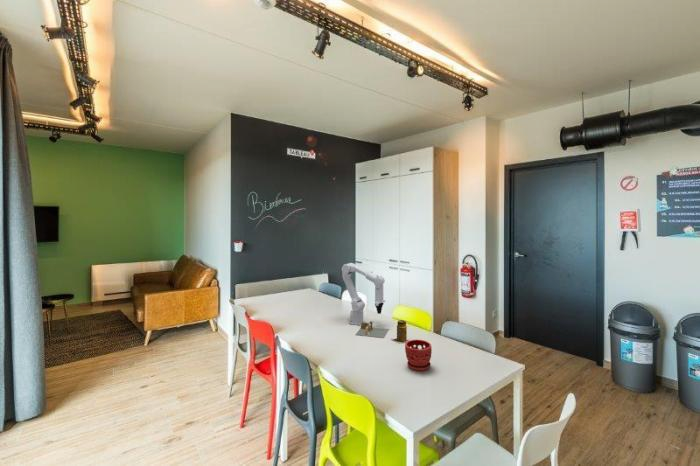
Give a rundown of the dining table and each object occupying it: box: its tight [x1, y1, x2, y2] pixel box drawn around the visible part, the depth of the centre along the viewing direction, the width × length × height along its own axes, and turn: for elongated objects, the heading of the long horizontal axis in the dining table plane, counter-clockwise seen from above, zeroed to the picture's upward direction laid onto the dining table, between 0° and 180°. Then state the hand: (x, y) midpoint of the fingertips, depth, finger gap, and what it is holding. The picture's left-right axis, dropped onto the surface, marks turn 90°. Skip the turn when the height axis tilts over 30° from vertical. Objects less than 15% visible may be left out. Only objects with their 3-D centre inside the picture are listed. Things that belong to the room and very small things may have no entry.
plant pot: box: [404, 339, 433, 372], centre depth 164 cm, size 13×13×12 cm
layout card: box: [355, 326, 389, 339], centre depth 214 cm, size 19×17×1 cm
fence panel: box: [365, 323, 371, 334], centre depth 213 cm, size 9×1×4 cm, turn 159°
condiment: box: [391, 319, 410, 344], centre depth 199 cm, size 7×8×12 cm
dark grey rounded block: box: [360, 320, 373, 330], centre depth 219 cm, size 8×2×5 cm, turn 72°
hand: (379, 313), depth 225 cm, fingers closed
